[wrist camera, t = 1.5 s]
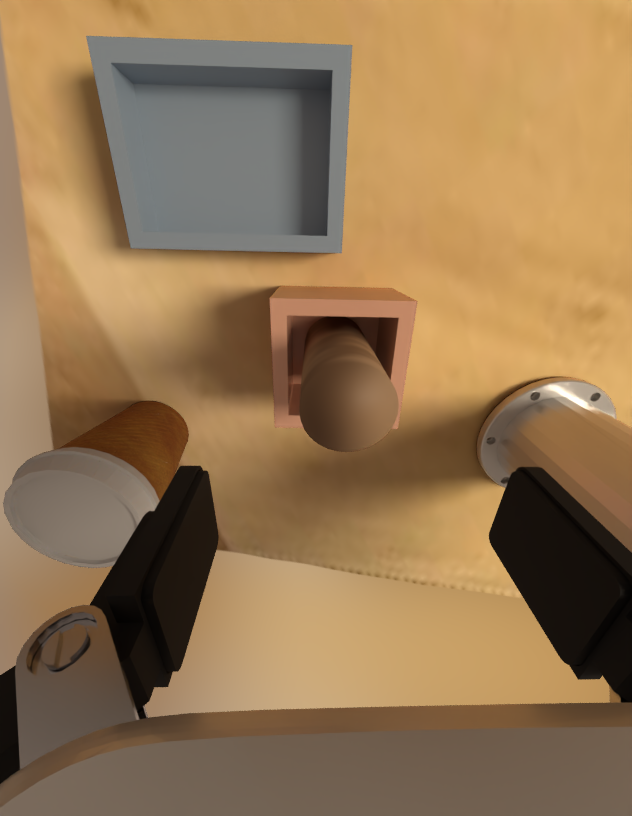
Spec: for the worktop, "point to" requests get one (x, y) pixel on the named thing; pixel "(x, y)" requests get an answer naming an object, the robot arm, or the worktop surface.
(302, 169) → the tray
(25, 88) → the worktop surface
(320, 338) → the peg
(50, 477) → the disposable coffee cup
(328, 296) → the terracotta open box
